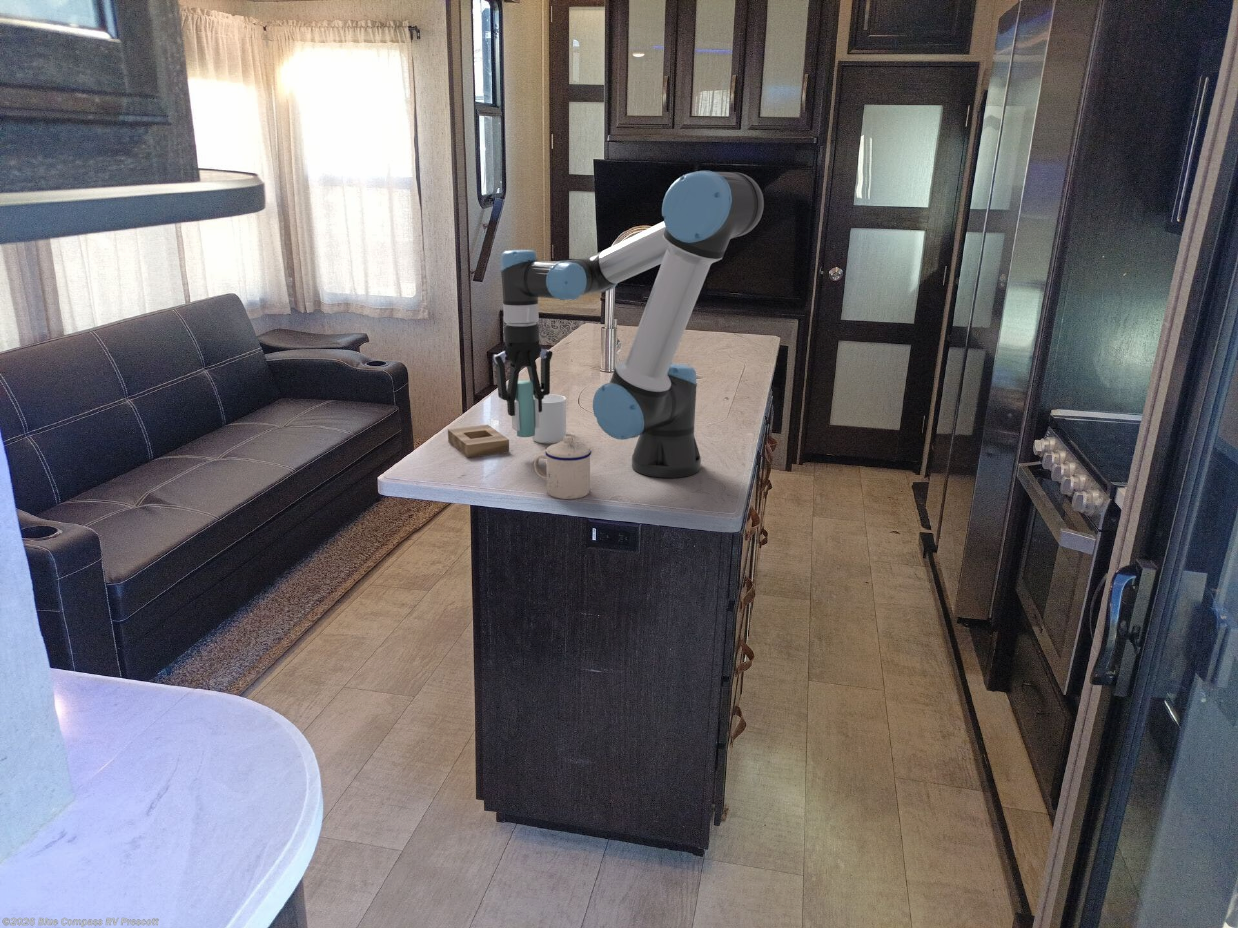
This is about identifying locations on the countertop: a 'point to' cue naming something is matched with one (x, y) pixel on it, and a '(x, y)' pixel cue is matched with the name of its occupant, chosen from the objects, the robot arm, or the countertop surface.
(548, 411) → the cup
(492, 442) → the socket
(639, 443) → the robot arm
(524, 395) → the peg
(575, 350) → the countertop surface
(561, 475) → the teacup with lid
